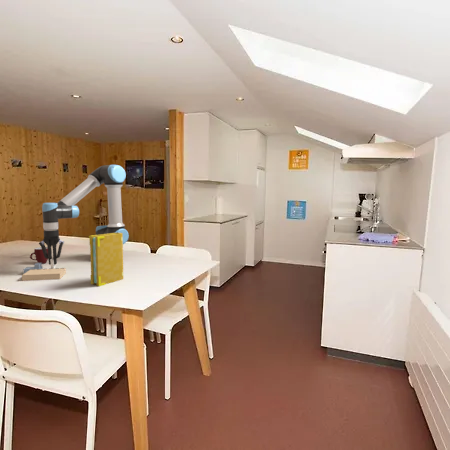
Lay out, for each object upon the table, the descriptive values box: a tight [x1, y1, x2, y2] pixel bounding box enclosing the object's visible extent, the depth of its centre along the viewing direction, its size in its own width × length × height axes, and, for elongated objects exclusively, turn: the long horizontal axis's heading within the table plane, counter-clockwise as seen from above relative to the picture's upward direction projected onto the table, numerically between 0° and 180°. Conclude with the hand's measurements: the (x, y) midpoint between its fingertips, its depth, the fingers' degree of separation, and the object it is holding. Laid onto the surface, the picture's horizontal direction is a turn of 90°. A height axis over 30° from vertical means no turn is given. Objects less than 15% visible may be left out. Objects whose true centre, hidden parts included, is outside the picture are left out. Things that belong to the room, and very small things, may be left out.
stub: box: [23, 262, 44, 274], centre depth 175 cm, size 8×5×5 cm
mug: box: [29, 246, 49, 265], centre depth 198 cm, size 11×8×10 cm
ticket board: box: [21, 267, 67, 282], centre depth 168 cm, size 18×12×3 cm, turn 104°
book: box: [88, 233, 124, 287], centre depth 161 cm, size 17×7×25 cm, turn 148°
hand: (53, 269), depth 178 cm, fingers closed
